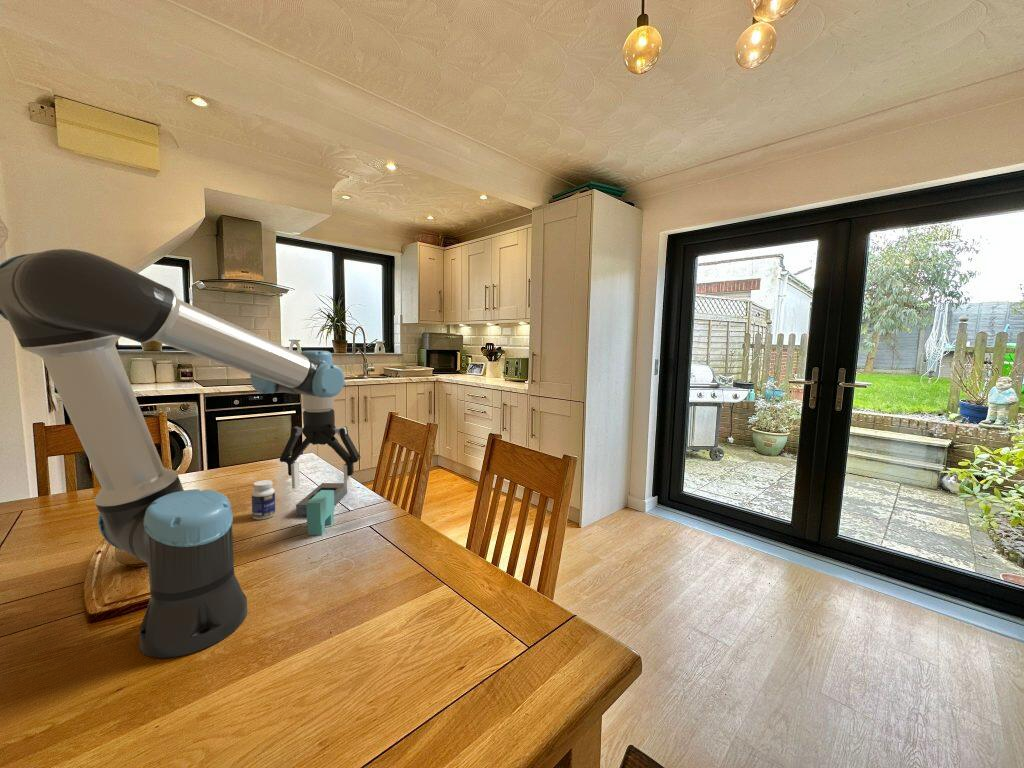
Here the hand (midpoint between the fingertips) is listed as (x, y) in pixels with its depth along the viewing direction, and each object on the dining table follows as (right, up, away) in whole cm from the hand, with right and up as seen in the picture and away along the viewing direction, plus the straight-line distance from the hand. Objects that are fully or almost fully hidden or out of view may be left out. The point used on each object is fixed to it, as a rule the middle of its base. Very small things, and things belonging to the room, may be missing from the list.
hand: (321, 486), depth 110 cm
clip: (-1, -11, +1) cm, 12 cm away
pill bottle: (-20, -10, +7) cm, 24 cm away
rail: (-7, -10, +16) cm, 20 cm away
